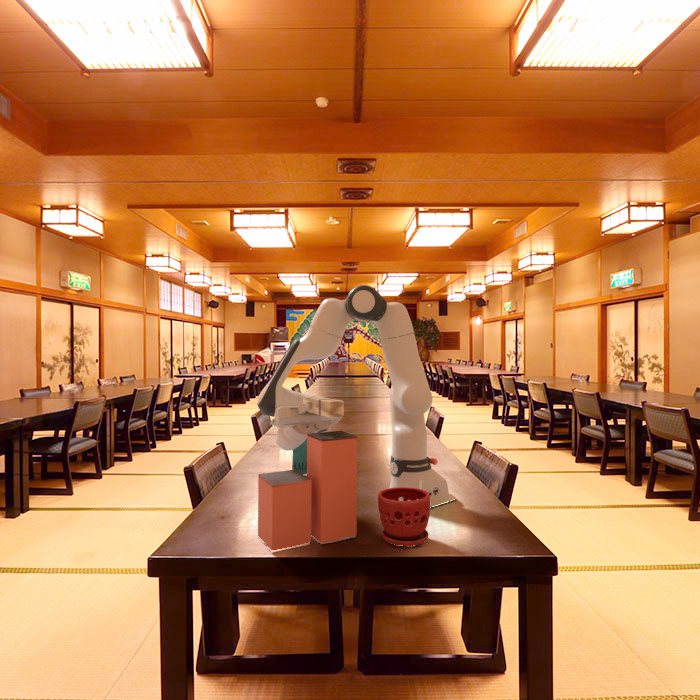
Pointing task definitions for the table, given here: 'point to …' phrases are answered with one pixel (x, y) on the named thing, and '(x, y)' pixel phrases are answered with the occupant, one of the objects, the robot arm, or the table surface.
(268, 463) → the table surface
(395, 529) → the plant pot
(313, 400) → the box
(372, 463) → the table surface
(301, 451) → the beverage bottle
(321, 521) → the stand
